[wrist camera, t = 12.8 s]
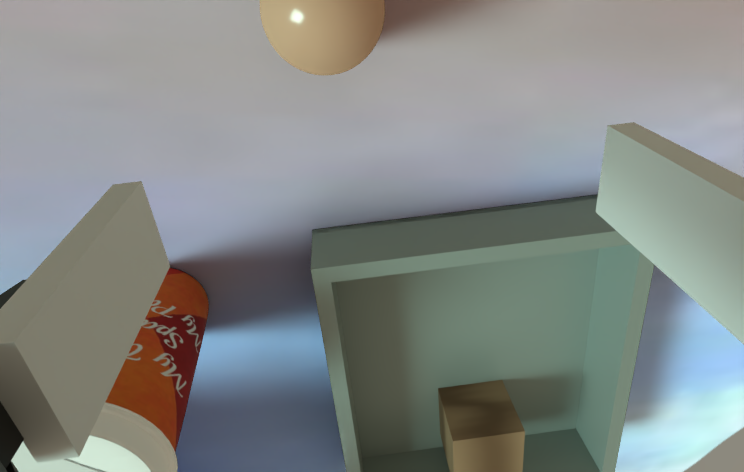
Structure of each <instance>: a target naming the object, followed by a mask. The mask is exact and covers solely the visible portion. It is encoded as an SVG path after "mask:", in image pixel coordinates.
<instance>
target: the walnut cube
mask: <svg viewBox="0 0 744 472" xmlns="http://www.w3.org/2000/svg"><path fill="white" fill-rule="evenodd" d="M438 399H439V421H440V435H441V439H442V443H443V447H444V451H445V455H446V459H447V463H448V466H449V470H450V472H522V471H523V455H524V440H525V430H524V428H523V426H522V423H521V421H520V419H519V417H518V414H517V412H516V410H515V408H514V406H513V403H512V401H511V399H510V397H509V394H508V392H507V390H506V388H505V385H504V383H503V381H502V380H496V381H488V382H481V383H474V384H466V385H459V386H451V387H444V388H438Z"/></svg>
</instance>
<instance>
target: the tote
mask: <svg viewBox="0 0 744 472" xmlns="http://www.w3.org/2000/svg"><path fill="white" fill-rule="evenodd" d="M597 198H598V195H591V196H583V197H574V198H566V199H558V200H550V201H542V202H534V203H526V204H518V205H510V206H502V207H493V208H485V209H477V210H469V211H461V212H453V213H445V214H437V215H429V216H421V217H412V218H404V219H396V220H388V221H380V222H372V223H364V224H356V225H348V226H340V227H331V228H323V229H315V230H312V252H311V274H312V280H313V285H314V291H315V297H316V302H317V308H318V314H319V319H320V325H321V331H322V336H323V342H324V348H325V353H326V359H327V365H328V370H329V376H330V382H331V387H332V393H333V399H334V405H335V410H336V416H337V422H338V427H339V433H340V439H341V444H342V450H343V456H344V461H345V467H346V472H450V470H449V466H448V463H447V459H446V455H445V451H444V447H443V443H442V439H441V435H440V421H439V399H438V388H444V387H451V386H459V385H466V384H474V383H481V382H488V381H496V380H502V381H503V383H504V385H505V388H506V390H507V392H508V394H509V397H510V399H511V401H512V403H513V406H514V408H515V410H516V412H517V414H518V417H519V419H520V421H521V423H522V426H523V428H524V430H525V440H524V455H523V471H522V472H615V467H616V462H617V457H618V452H619V446H620V441H621V436H622V431H623V425H624V420H625V415H626V410H627V404H628V399H629V394H630V389H631V384H632V378H633V373H634V368H635V363H636V357H637V352H638V347H639V342H640V337H641V331H642V326H643V321H644V316H645V310H646V305H647V300H648V295H649V290H650V284H651V279H652V274H653V269H654V264H653V263H652V262H651V261H650V260H649V259H647V258H646V257H645V256H644V255H643V254H642V253H641V252H640V251H639V250H637V249H636V248H635V247H634V246H633V245H632V244H631V243H630V242H628V241H627V240H626V239H625V238H624V237H623V236H622V235H621V234H619V233H618V232H617V231H616V230H615V229H614V228H613V227H612V226H611V225H609V224H608V223H607V222H606V221H605V220H604V219H603V218H602V217H600V216H599V215H598V214H597V213H596V205H597Z"/></svg>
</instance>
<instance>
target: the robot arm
mask: <svg viewBox="0 0 744 472" xmlns="http://www.w3.org/2000/svg"><path fill="white" fill-rule="evenodd" d="M596 213H597V214H598V215H599V216H600V217H602V218H603V219H604V220H605V221H606V222H607V223H608V224H609V225H611V226H612V227H613V228H614V229H615V230H616V231H617V232H618V233H619V234H621V235H622V236H623V237H624V238H625V239H626V240H627V241H628V242H630V243H631V244H632V245H633V246H634V247H635V248H636V249H637V250H639V251H640V252H641V253H642V254H643V255H644V256H645V257H646V258H647V259H649V260H650V261H651V262H652V263H653V264H654V265H655V266H656V267H658V268H659V269H660V270H661V271H662V272H663V273H664V274H665V275H667V276H668V277H669V278H670V279H671V280H672V281H673V282H674V283H675V284H677V285H678V286H679V287H680V288H681V289H682V290H683V291H684V292H686V293H687V294H688V295H689V296H690V297H691V298H692V299H693V300H695V301H696V302H697V303H698V304H699V305H700V306H701V307H702V308H703V309H705V310H706V311H707V312H708V313H709V314H710V315H711V316H712V317H714V318H715V319H716V320H717V321H718V322H719V323H720V324H721V325H723V326H724V327H725V328H726V329H727V330H728V331H729V332H730V333H731V334H733V335H734V336H735V337H736V338H737V339H738V340H739V341H740V342H742V343H743V344H744V178H743V177H741V176H739V175H737V174H735V173H733V172H731V171H729V170H727V169H725V168H723V167H721V166H719V165H717V164H715V163H713V162H711V161H709V160H707V159H705V158H703V157H702V156H700V155H698V154H696V153H694V152H692V151H690V150H688V149H686V148H684V147H682V146H680V145H678V144H676V143H674V142H672V141H670V140H668V139H666V138H664V137H662V136H660V135H658V134H656V133H654V132H652V131H650V130H648V129H646V128H644V127H642V126H640V125H638V124H636V123H634V122H633V123H625V124H616V125H608V128H607V135H606V142H605V149H604V156H603V163H602V170H601V177H600V184H599V191H598V198H597V205H596ZM169 268H170V264H169V261H168V258H167V255H166V252H165V249H164V246H163V243H162V240H161V237H160V234H159V232H158V229H157V226H156V223H155V220H154V217H153V214H152V211H151V208H150V205H149V202H148V199H147V196H146V193H145V190H144V187H143V184H142V181H140V182H131V183H123V184H115V185H112V186H111V188H110V189H109V190H108V191H107V192H106V193H105V194H104V195H103V196H102V197H101V199H100V200H99V201H98V202H97V203H96V204H95V205H94V206H93V207H92V208H91V210H90V211H89V212H88V213H87V214H86V215H85V216H84V217H83V218H82V219H81V221H80V222H79V223H78V224H77V225H76V226H75V227H74V228H73V229H72V230H71V232H70V233H69V234H68V235H67V236H66V237H65V238H64V239H63V240H62V242H61V243H60V244H59V245H58V246H57V247H56V248H55V249H54V250H53V251H52V253H51V254H50V255H49V256H48V257H47V258H46V259H45V260H44V261H43V262H42V264H41V265H40V266H39V267H38V268H37V269H36V270H35V271H34V272H33V273H32V275H31V276H30V277H29V278H28V279H27V280H22V281H21V282H19V283H18V284H16V285H15V286H13V287H12V288H10V289H9V290H7V291H6V292H4V293H3V294H1V295H0V472H19V471H18V470H17V468H16V467H15V465H14V464H13V462H12V461H11V460H12V458H13V457H14V455H15V453H16V452H17V450H18V449H19V447H20V445H21V444H22V442H24V444H25V445H26V447H27V448H28V450H29V452H30V453H31V455H32V456H33V458H34V459H35V461H36V463H40V462H47V461H54V460H61V459H68V458H75V457H79V456H80V454H81V452H82V450H83V448H84V446H85V444H86V442H87V439H88V437H89V435H90V433H91V431H92V429H93V427H94V425H95V423H96V421H97V418H98V416H99V414H100V412H101V410H102V408H103V406H104V404H105V402H106V400H107V398H108V395H109V393H110V391H111V389H112V387H113V385H114V383H115V381H116V379H117V377H118V374H119V372H120V370H121V368H122V366H123V364H124V362H125V360H126V358H127V356H128V354H129V351H130V349H131V347H132V345H133V343H134V341H135V339H136V337H137V335H138V333H139V330H140V328H141V326H142V324H143V322H144V320H145V318H146V316H147V314H148V312H149V309H150V307H151V305H152V303H153V301H154V299H155V297H156V295H157V293H158V291H159V289H160V286H161V284H162V282H163V280H164V278H165V276H166V274H167V272H168V270H169Z"/></svg>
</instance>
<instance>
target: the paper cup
mask: <svg viewBox="0 0 744 472" xmlns="http://www.w3.org/2000/svg"><path fill="white" fill-rule="evenodd" d="M208 310H209V301H208V297H207V294H206V292H205V290H204V288H203V287H202V285H201V284H200V283H199V282H198V281H197V280H196V279H195V278H193V277H192V276H190V275H189V274H187V273H185V272H183V271H180V270H177V269H174V268H169V270H168V272H167V274H166V276H165V278H164V280H163V282H162V284H161V286H160V289H159V291H158V293H157V295H156V297H155V299H154V301H153V303H152V305H151V307H150V309H149V312H148V314H147V316H146V318H145V320H144V322H143V324H142V326H141V328H140V330H139V333H138V335H137V337H136V339H135V341H134V343H133V345H132V347H131V349H130V351H129V354H128V356H127V358H126V360H125V362H124V364H123V366H122V368H121V370H120V372H119V374H118V377H117V379H116V381H115V383H114V385H113V387H112V389H111V391H110V393H109V395H108V398H107V400H106V402H105V404H104V406H103V408H102V410H101V412H100V414H99V416H98V418H97V421H96V423H95V425H94V427H93V429H92V431H91V433H90V435H89V437H88V439H87V442H86V444H85V446H84V448H83V450H82V452H81V454H80V456H79V457H75V458H68V459H61V460H54V461H47V462H40V463H36V461H35V459H34V458H33V456H32V455H31V453H30V452H29V450H28V448H27V447H26V445H25V444H24V442H22V444H21V445H20V447H19V449H18V450H17V452H16V453H15V455H14V457H13V458H12V460H11V461H12V462H13V464H14V465H15V467H16V468H17V470H18V471H19V472H177V469H178V465H177V457H176V454H175V451H176V448H177V444H178V440H179V436H180V432H181V428H182V424H183V420H184V416H185V412H186V407H187V403H188V398H189V394H190V390H191V385H192V381H193V377H194V373H195V369H196V365H197V361H198V356H199V352H200V348H201V344H202V339H203V335H204V331H205V326H206V321H207V317H208Z"/></svg>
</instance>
